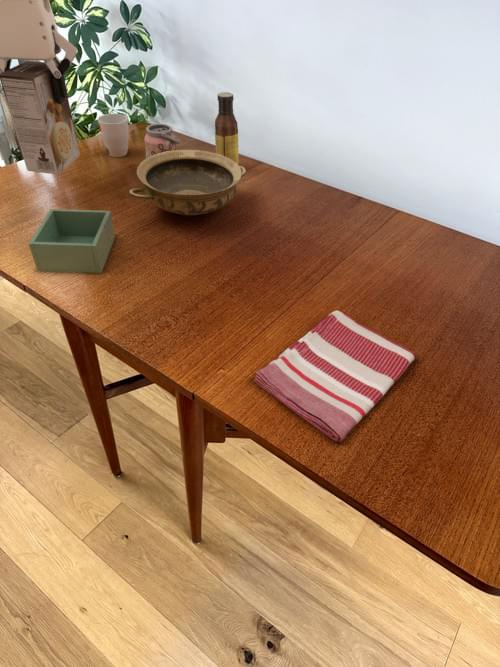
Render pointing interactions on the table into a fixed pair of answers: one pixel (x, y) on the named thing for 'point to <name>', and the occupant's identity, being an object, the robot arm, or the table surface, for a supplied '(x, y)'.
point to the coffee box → (40, 118)
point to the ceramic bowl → (188, 181)
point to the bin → (73, 241)
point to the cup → (114, 133)
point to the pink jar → (159, 139)
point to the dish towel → (335, 373)
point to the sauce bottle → (226, 128)
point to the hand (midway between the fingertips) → (38, 99)
